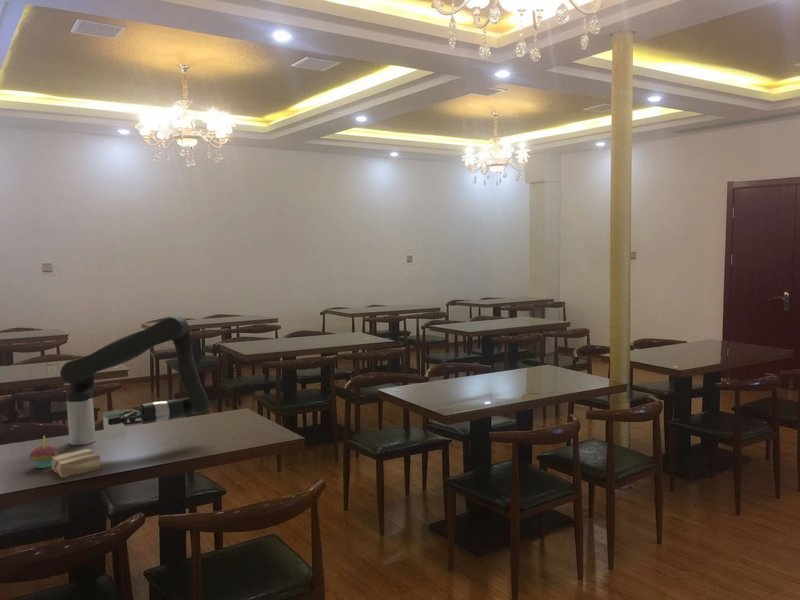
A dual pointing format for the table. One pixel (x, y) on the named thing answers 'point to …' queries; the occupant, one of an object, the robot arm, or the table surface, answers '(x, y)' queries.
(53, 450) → the cupcake
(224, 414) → the table surface
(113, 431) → the tea tin
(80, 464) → the birch box
